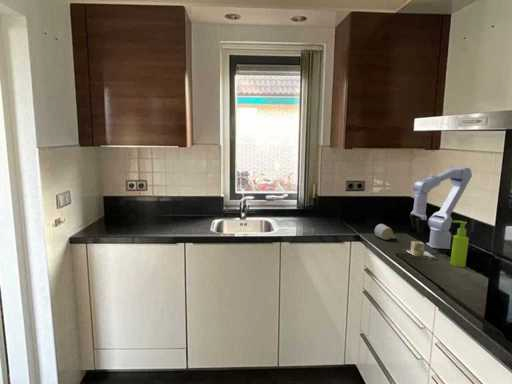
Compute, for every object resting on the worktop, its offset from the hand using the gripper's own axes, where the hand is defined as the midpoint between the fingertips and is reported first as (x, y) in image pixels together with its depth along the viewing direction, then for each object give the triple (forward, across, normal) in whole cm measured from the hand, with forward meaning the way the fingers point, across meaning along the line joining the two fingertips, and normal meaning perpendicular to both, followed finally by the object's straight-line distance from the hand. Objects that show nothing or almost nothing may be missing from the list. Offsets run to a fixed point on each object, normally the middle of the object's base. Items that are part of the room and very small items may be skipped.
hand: (417, 230), depth 174 cm
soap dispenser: (+10, +22, +10) cm, 26 cm away
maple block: (+9, +11, -3) cm, 15 cm away
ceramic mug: (+10, -17, -11) cm, 22 cm away
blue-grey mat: (+9, +11, -3) cm, 15 cm away
